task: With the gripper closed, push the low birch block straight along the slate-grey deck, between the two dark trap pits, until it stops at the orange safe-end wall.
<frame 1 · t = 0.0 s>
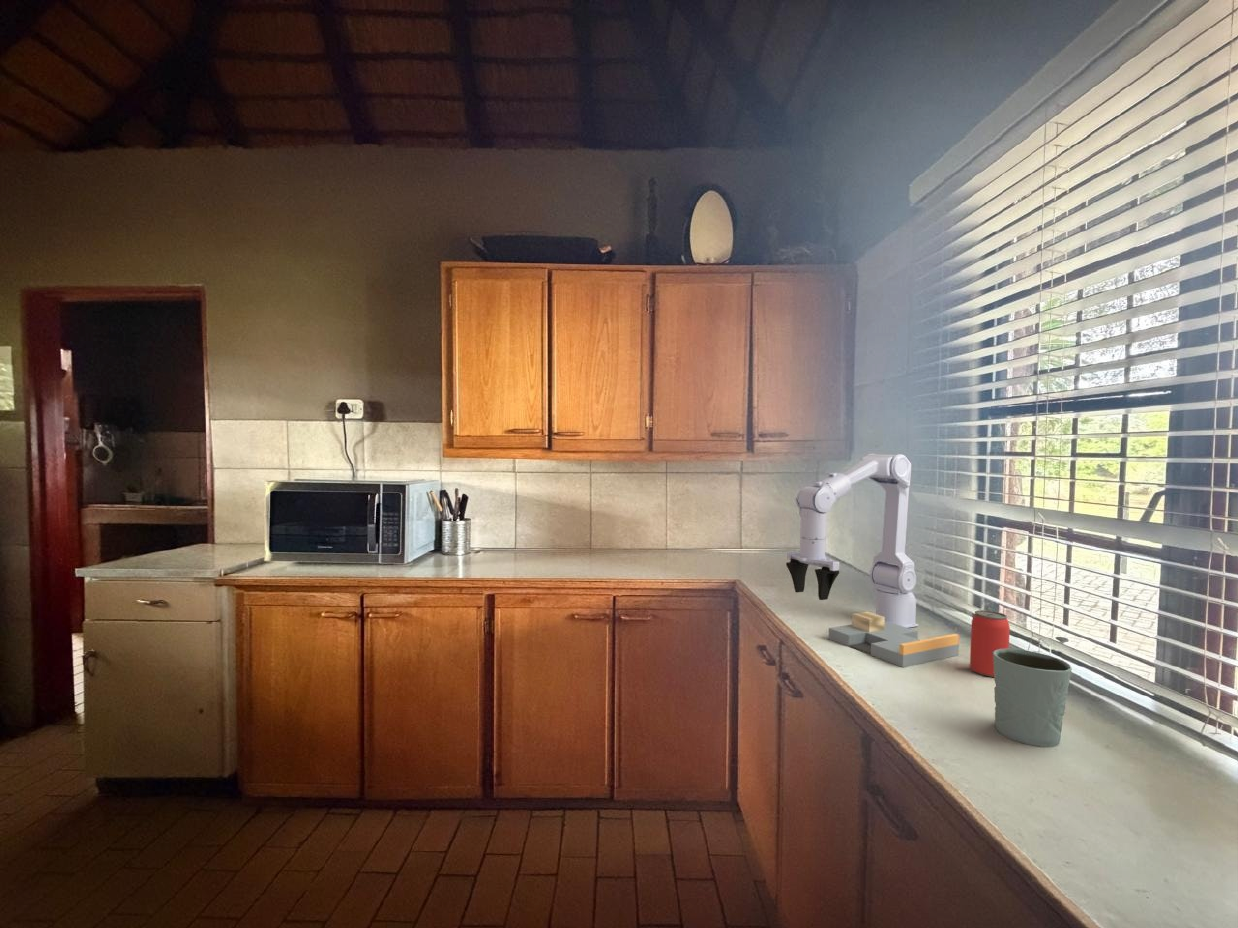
hand: (811, 595, 140), 10 cm above the worktop, tool pointing down, fingers open, 7 cm apart
grey green oval vase: (1028, 734, 94), on the worktop
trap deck: (891, 646, 135), on the worktop
beer can: (988, 673, 121), on the worktop
birch block: (867, 627, 141), point 2 cm above the worktop, touching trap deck
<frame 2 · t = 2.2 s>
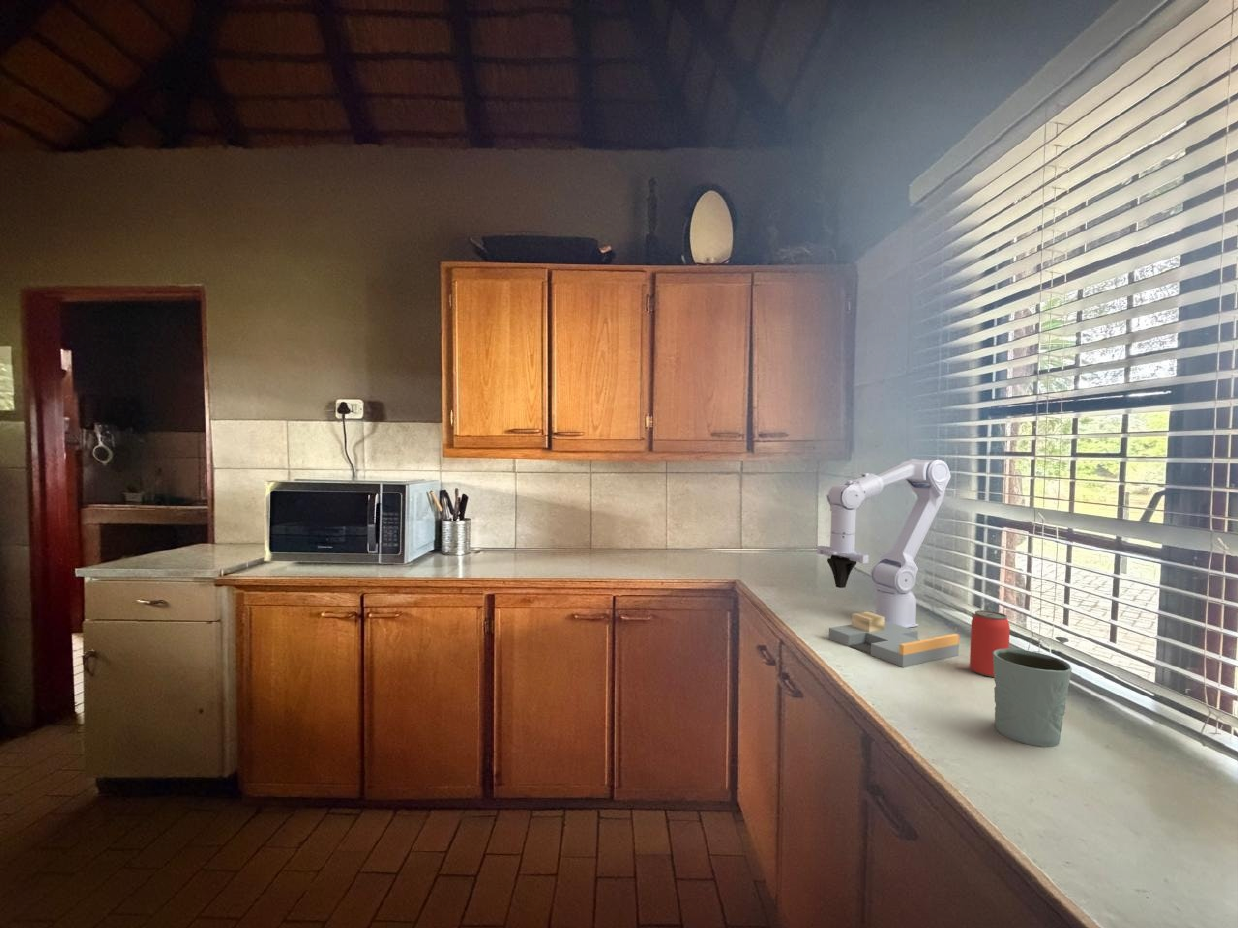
hand: (840, 587, 148), 10 cm above the worktop, tool pointing down, fingers closed
nothing on the worktop moved.
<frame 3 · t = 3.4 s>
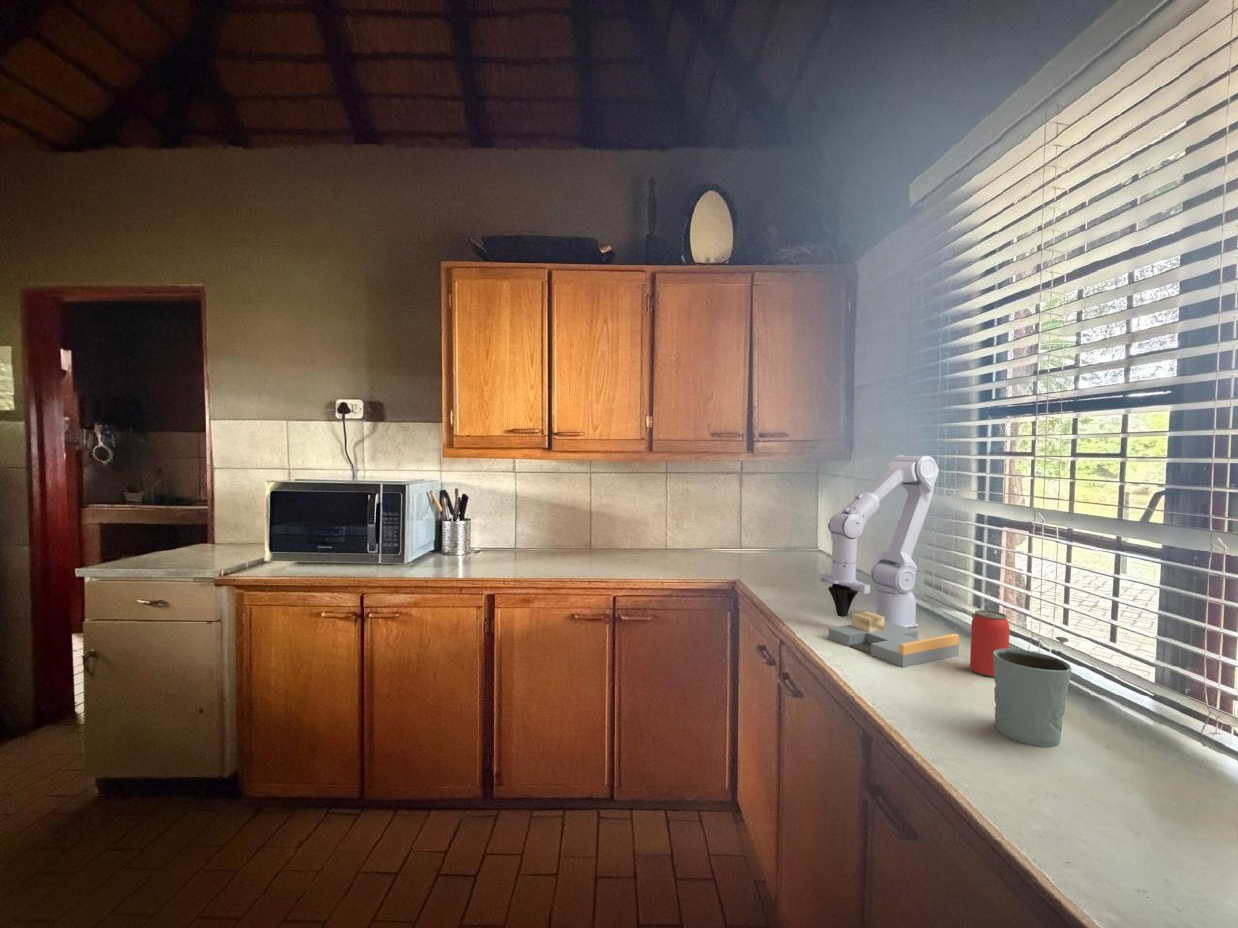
hand: (842, 615, 148), 3 cm above the worktop, tool pointing down, fingers closed
nothing on the worktop moved.
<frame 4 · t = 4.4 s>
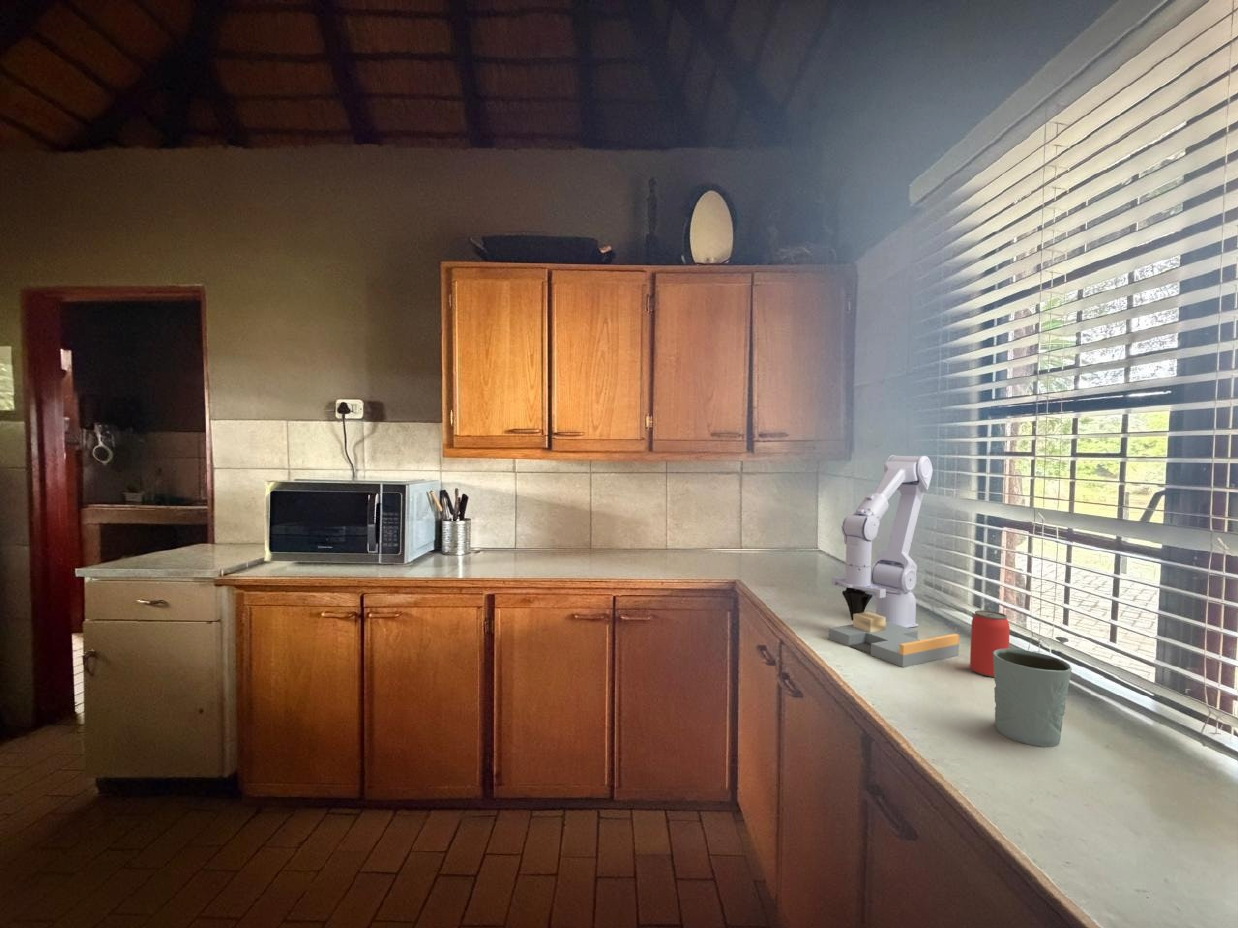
hand: (856, 620, 144), 3 cm above the worktop, tool pointing down, fingers closed
birch block: (869, 628, 141), point 3 cm above the worktop, touching gripper
everything else where it was.
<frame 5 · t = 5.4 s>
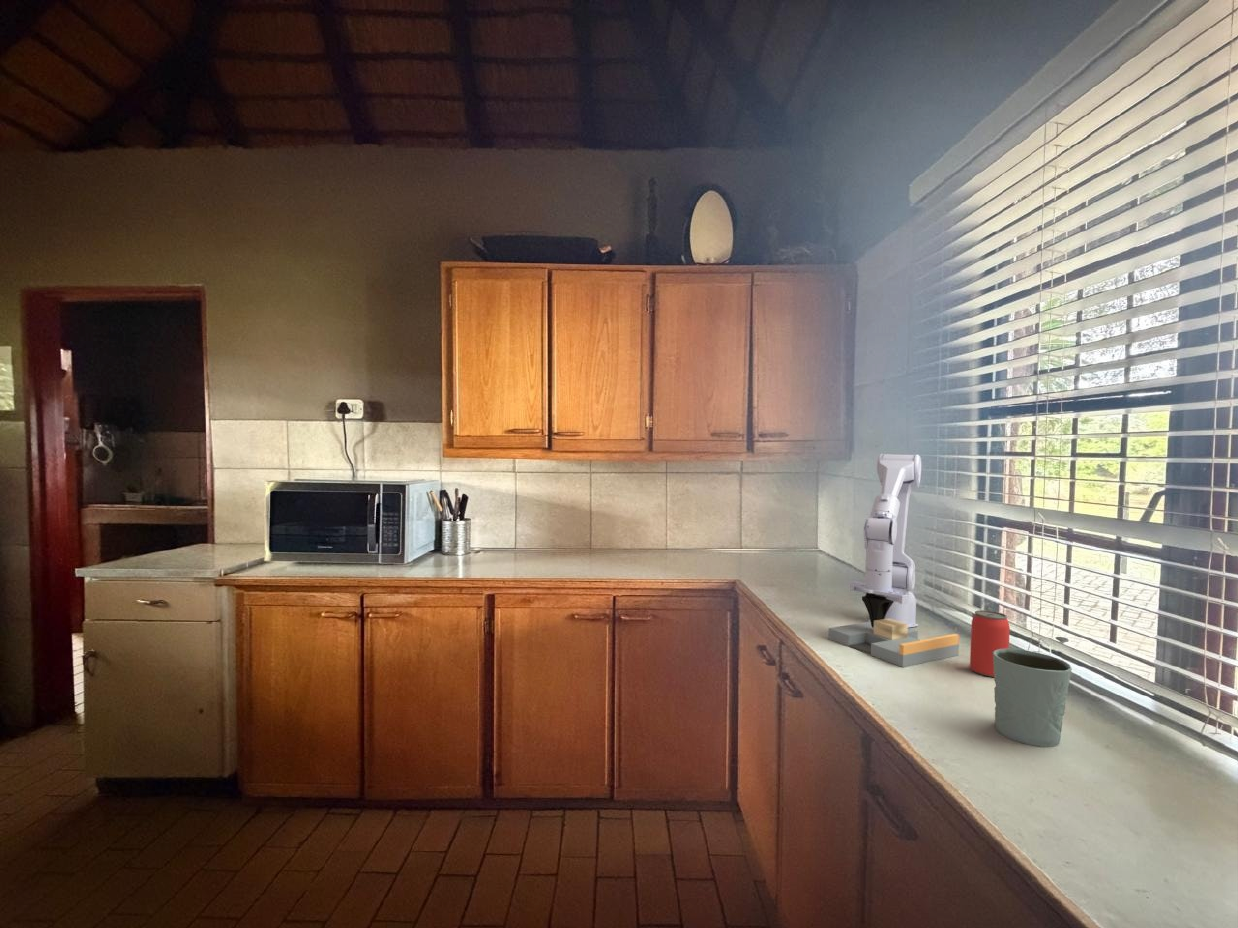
hand: (876, 627, 139), 3 cm above the worktop, tool pointing down, fingers closed
birch block: (890, 635, 136), point 3 cm above the worktop, touching gripper, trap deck
everything else where it was.
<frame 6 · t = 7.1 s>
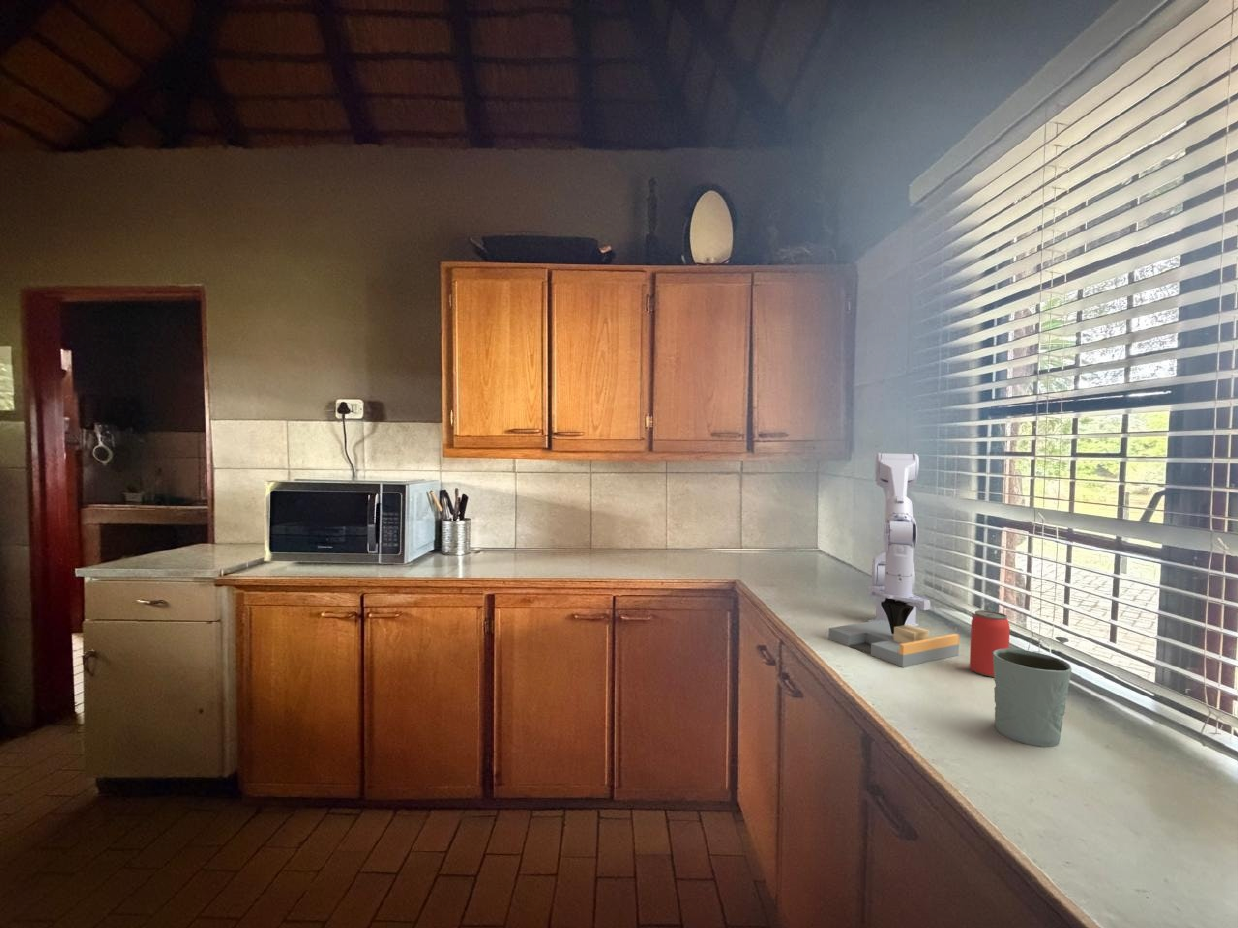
hand: (896, 633, 134), 3 cm above the worktop, tool pointing down, fingers closed
birch block: (911, 642, 131), point 2 cm above the worktop, touching gripper, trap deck
everything else where it was.
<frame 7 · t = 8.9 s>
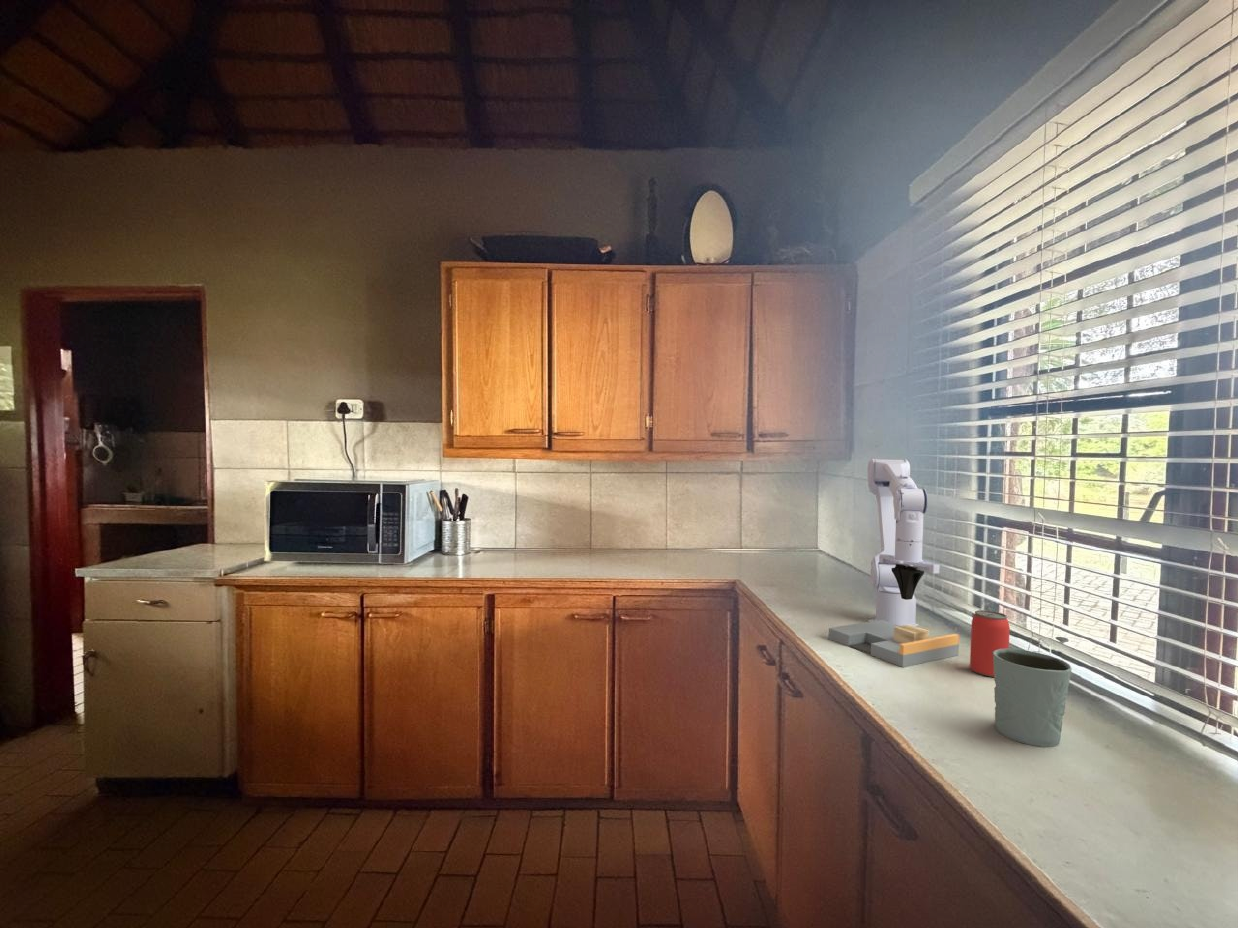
hand: (906, 598, 138), 10 cm above the worktop, tool pointing down, fingers closed
birch block: (911, 642, 131), point 2 cm above the worktop, touching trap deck
everything else where it was.
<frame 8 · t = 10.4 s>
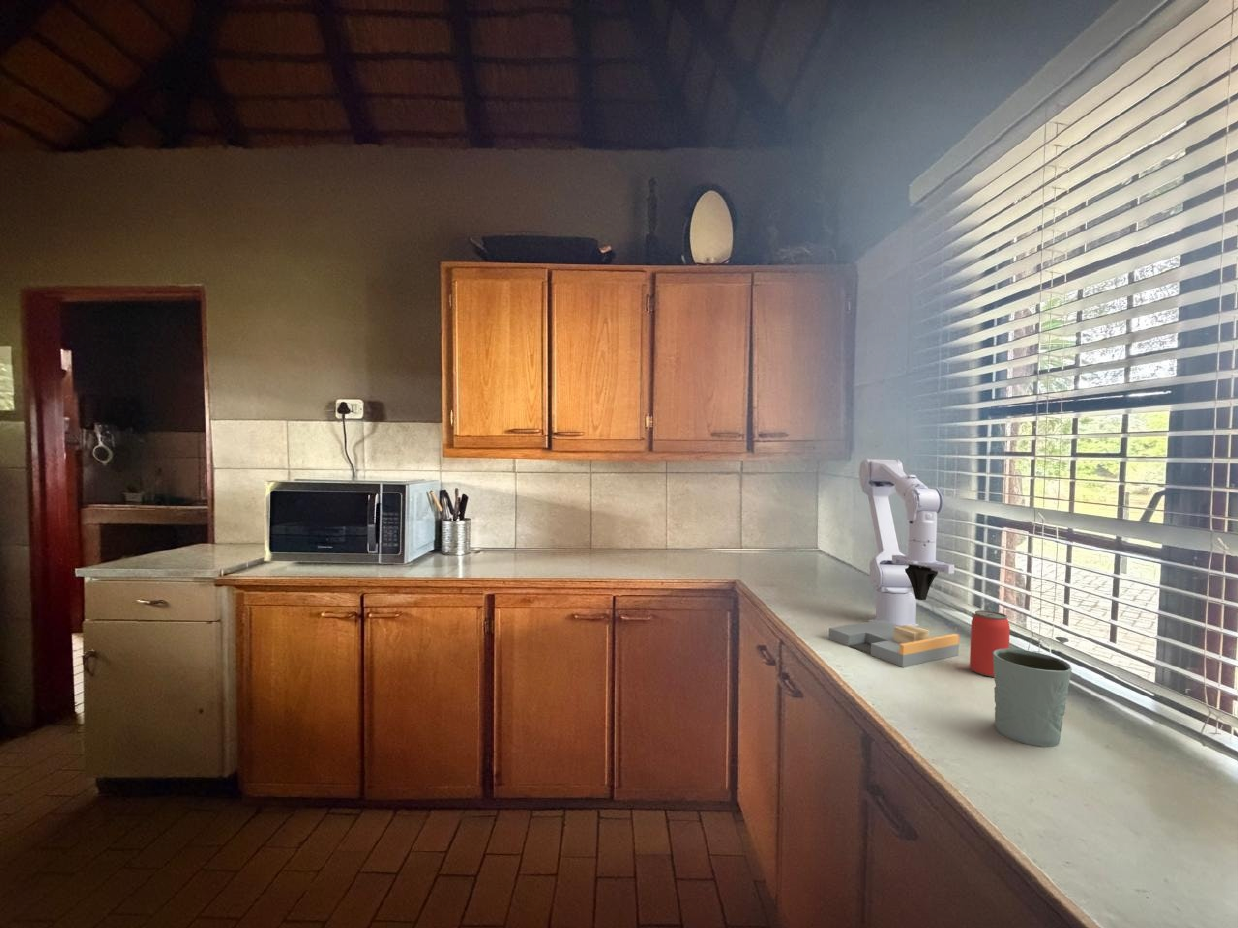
hand: (920, 599, 138), 10 cm above the worktop, tool pointing down, fingers closed
nothing on the worktop moved.
at the end: birch block 0.5 cm from the target spot on the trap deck, point 2.5 cm above the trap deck's base; birch block tilted 0° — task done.
